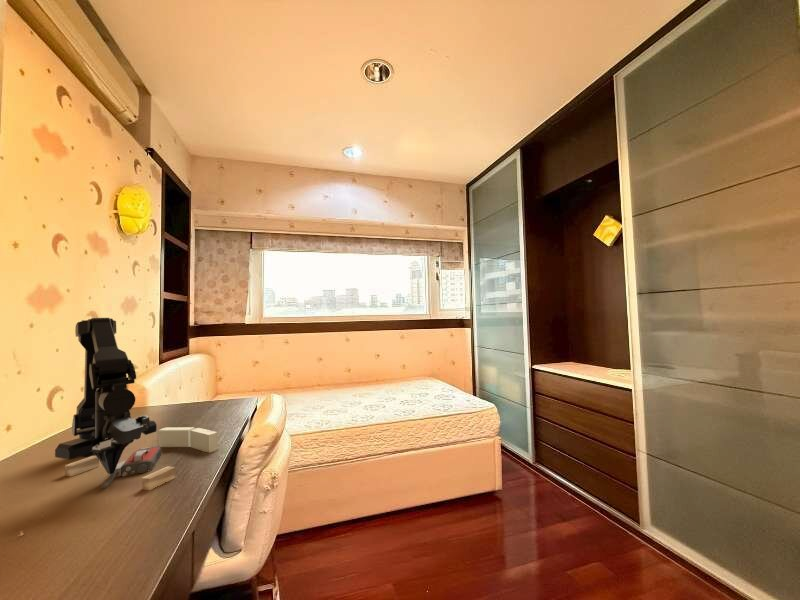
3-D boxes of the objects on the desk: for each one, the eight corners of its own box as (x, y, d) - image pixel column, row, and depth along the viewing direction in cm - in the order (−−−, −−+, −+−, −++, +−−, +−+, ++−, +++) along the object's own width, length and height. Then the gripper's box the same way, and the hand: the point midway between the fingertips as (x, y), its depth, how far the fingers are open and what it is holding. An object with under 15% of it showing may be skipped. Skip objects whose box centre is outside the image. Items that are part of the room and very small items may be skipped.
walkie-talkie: (125, 461, 94) (97, 494, 76) (125, 445, 94) (97, 474, 76) (163, 454, 97) (145, 484, 79) (163, 439, 98) (145, 465, 79)
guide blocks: (64, 475, 85) (65, 465, 85) (93, 465, 91) (93, 455, 91) (149, 490, 75) (149, 478, 76) (175, 477, 81) (175, 467, 81)
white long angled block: (157, 446, 103) (157, 430, 103) (171, 441, 107) (171, 425, 107) (210, 452, 96) (210, 435, 96) (223, 446, 100) (223, 429, 100)
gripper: (85, 422, 71) (85, 497, 70) (171, 400, 89) (172, 460, 88) (53, 418, 75) (53, 491, 74) (142, 398, 92) (142, 456, 91)
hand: (110, 473), depth 82 cm, fingers closed
